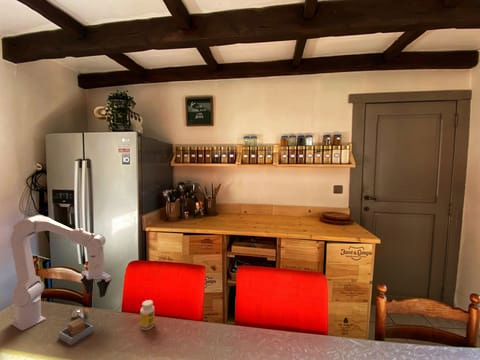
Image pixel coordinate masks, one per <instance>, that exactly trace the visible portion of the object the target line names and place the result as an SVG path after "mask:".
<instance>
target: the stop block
mask: <svg viewBox="0 0 480 360" xmlns="http://www.w3.org/2000/svg"><path fill="white" fill-rule="evenodd" d="M85 322H86V320H85V321H83V320H82V319H81V318H75V319H74V320H72V321H70V322H68V323H67V327H68V336H70V337H74V336H76V335H77V334H79V333H81V332H82V331H84V330H85Z"/></svg>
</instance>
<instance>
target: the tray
mask: <svg viewBox="0 0 480 360" xmlns="http://www.w3.org/2000/svg"><path fill="white" fill-rule="evenodd" d="M93 333H94V325H92V324H90V323H88V322H87V321H85V330H84V331H82V332H81V333H79V334H77V335H76V336H74V337H70V336H68V326H67V327H66V328H63V329H62V330H60V331H58V340H60V341H62V342H64V343H66V344H68V345H69V346H71V347H72V346H73V345H75V344H76V343H78V342H80V341H82V340H83V339H85V338H86V337H88V336H89V335H91V334H93Z"/></svg>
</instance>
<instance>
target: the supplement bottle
mask: <svg viewBox="0 0 480 360" xmlns="http://www.w3.org/2000/svg"><path fill="white" fill-rule="evenodd" d="M141 306H142V307H140V312H139V313H140V315H139V327H140V329H141V330H143V331H148V330H150V329H152V328H153V327H154V326H155V306H154V302H153V300H151V299H149V300H148V299H146V300H145V301H143V302H142V304H141Z"/></svg>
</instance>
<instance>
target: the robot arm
mask: <svg viewBox="0 0 480 360" xmlns="http://www.w3.org/2000/svg"><path fill="white" fill-rule="evenodd" d="M13 224H14V223H13ZM12 229H13V231H12V232H11V236H10V244H11V245H10V246H11V251H12V252H11V253H12V256H13V261H14V267H15V272H16V277H17V282H16V284H15V286H14V288H13V295H12V297H11V301H12V303H13V304H14V306H13V321H11V322H10V325H12V326H14V327H15V328H17V329H18V330H19V331H20V330H21V331H25V330H26V329H29V328H31V327H32V326H35V325H37V324H39V323H42V322H43V321H45V320H46V317H44V316H43V315H42V303H41V302H42V301H41V296H42V293H43V292H44V289H45V285H44V283H43V281H42V279H41V277H40V276H38V275H36V274H37V273H36V271H35V263H34V259H33V258H34V257H33V252H32V246H31V243H30V242H31V241H30V239H31V238H32V237H34V235H36V233H40V232H46V231H49V232H51V233H55V234H58V235H62V237H63V236H64V237H67V239H68V241H70V242H71V243H74V244H76V245H79V246H82V247H84V248H85V249H86V251H87V252H88V253H87V270H84V271H82V272H81V279H80V282H81V283H82V285H83V287H84V290H85V293H86V294H87V295H89V294H91V293H93V291H94V290H93V289H94V282H95V281H94V280H96V279H97V280H99V281H98V282H96V285H97V287H98V291H99V297H100V298H103V297H105V296H106V293H107V291H108V287H109V285H110V283H111V282H112V278H111V277H112V275H110V274H108V273H107V272H105V269H104V268H105V266H104V265H105V264H104V256H105V255H104V245H105V244H106V238H105V236H104V235H102V234H99V233H98V234H96V233H94V232H92V233H91V232H89V231H85V228H82V227H81V228H78V227H77V228H74V229H73V228H70V227H69V226H67V225H64V224H62V223H60V222H57V221H55V220H54V219H52V218H50V217H49V216H44V215H42V214H36V215H32V216H30V217H27V218H21V219H20V220H18V221H17V222H16V223H15V224H14V225H12Z"/></svg>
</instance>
